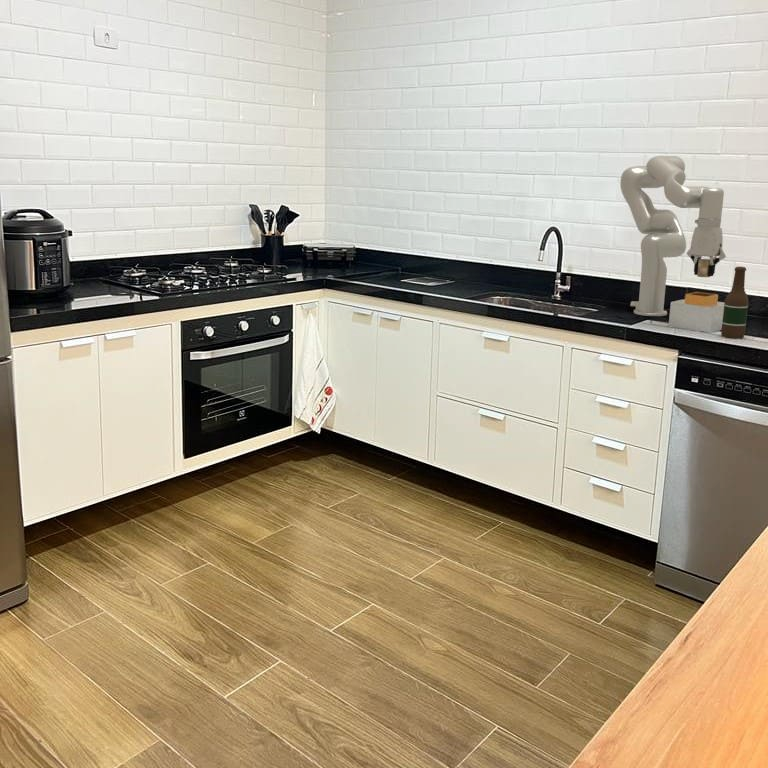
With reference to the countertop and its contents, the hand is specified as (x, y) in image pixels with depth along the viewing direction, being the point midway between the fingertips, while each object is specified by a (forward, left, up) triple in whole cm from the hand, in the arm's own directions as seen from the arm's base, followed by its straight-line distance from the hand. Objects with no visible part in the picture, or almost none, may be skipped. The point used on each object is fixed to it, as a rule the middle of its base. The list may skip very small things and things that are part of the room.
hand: (703, 274), depth 300 cm
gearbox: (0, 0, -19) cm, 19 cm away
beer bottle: (+16, -7, -19) cm, 26 cm away
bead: (0, 0, -1) cm, 1 cm away
